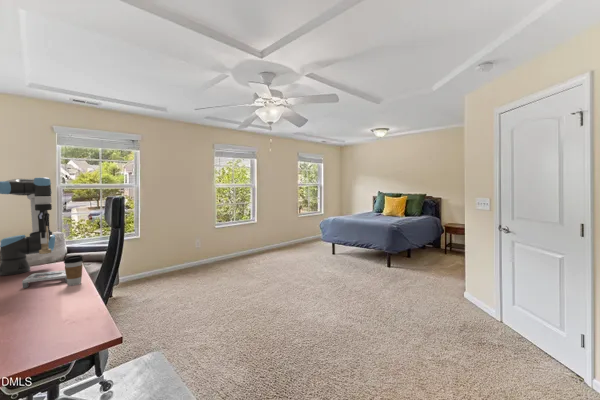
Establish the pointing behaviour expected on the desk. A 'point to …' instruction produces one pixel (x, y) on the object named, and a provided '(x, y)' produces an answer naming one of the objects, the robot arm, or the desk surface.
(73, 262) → the coffee cup
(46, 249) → the beech peg
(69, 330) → the desk surface
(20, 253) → the robot arm
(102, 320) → the desk surface
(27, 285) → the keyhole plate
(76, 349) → the desk surface
